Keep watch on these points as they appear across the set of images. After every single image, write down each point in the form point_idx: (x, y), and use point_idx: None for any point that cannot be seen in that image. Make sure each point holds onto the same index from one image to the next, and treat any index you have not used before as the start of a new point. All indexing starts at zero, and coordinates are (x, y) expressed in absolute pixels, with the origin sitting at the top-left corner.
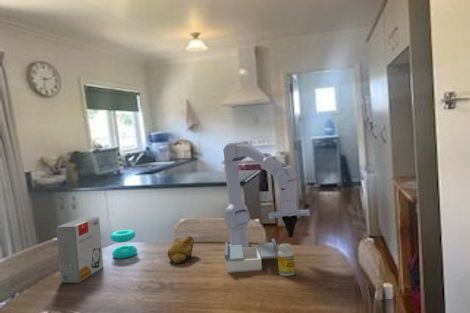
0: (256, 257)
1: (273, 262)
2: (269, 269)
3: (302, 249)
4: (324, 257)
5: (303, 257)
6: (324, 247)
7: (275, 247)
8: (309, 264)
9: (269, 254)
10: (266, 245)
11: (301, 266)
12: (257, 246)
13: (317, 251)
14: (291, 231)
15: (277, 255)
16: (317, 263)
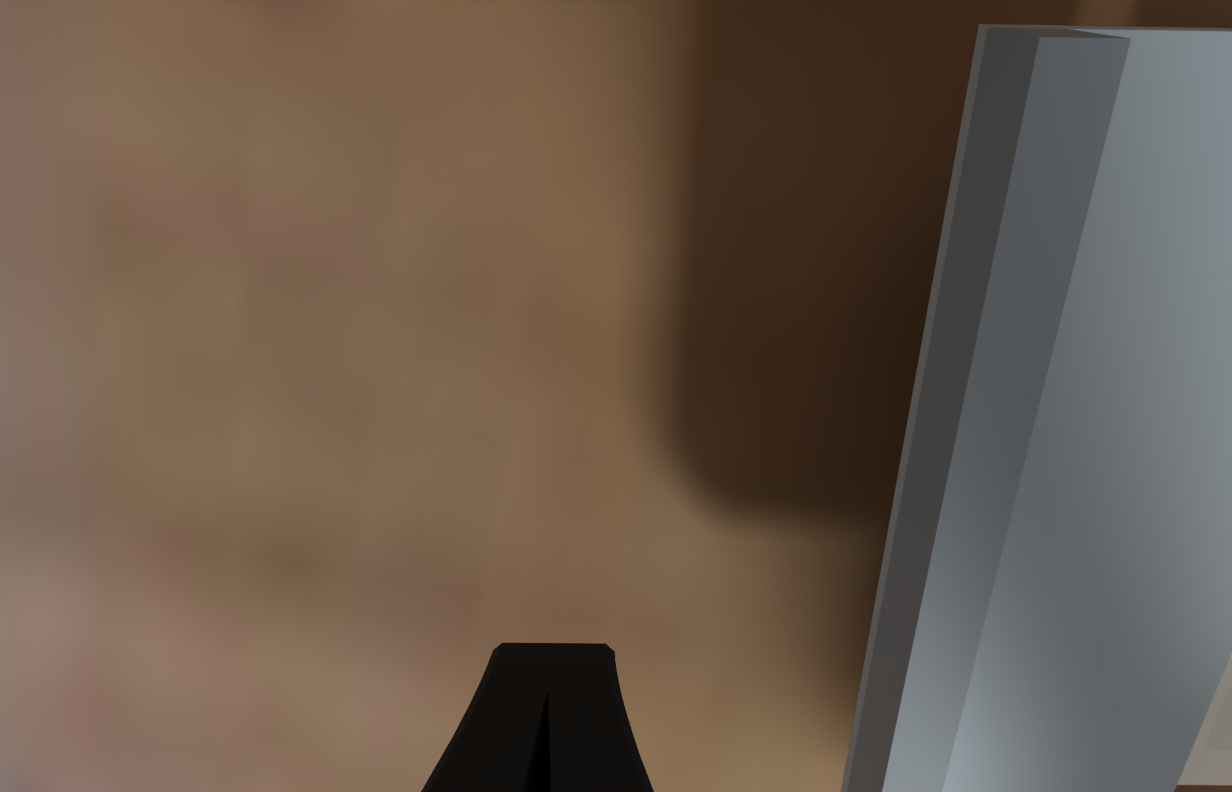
0: None
1: (905, 378)
2: None
3: (353, 771)
4: (15, 414)
5: (370, 484)
6: (24, 778)
7: (1037, 365)
8: (294, 146)
9: (1220, 148)
10: (1046, 718)
11: (455, 76)
12: None
13: (131, 665)
14: (513, 774)
15: (1046, 26)
16: (141, 164)
